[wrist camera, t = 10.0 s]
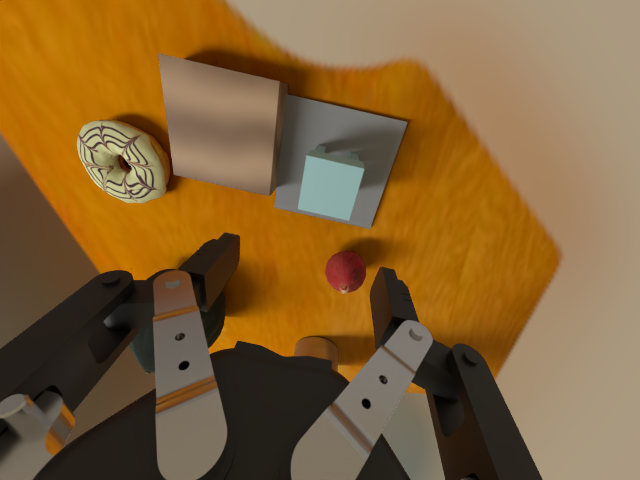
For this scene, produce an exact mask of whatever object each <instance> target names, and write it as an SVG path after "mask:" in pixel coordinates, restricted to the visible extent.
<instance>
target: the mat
mask: <svg viewBox="0 0 640 480" xmlns="http://www.w3.org/2000/svg"><path fill="white" fill-rule="evenodd" d="M407 123H408V122H405V121H401V120H397V119H392V118H388V117H384V116H379V115H375V114H371V113H366V112H362V111H358V110H353V109H349V108H345V107H341V106H336V105H332V104H328V103H323V102H319V101H315V100H310V99H306V98H302V97H297V96H293V95H289V94H286V101H285V110H284V120H283V130H282V140H281V149H280V159H279V169H278V178H277V188H276V198H275V208H279V209H284V210H288V211H293V212H297V213H301V214H306V215H310V216H315V217H319V218H324V219H328V220H333V221H337V222H342V223H346V224H351V225H355V226H360V227H364V228H368V229H370V228H371V225H372V222H373V219H374V216H375V213H376V211H377V208H378V205H379V202H380V199H381V196H382V194H383V191H384V188H385V185H386V182H387V179H388V177H389V174H390V171H391V168H392V165H393V162H394V160H395V157H396V154H397V151H398V148H399V145H400V143H401V140H402V137H403V134H404V131H405V128H406V126H407ZM318 145H321V146H325V147H326V149H325V153H328V154H332V155H337V156H341V157H345V158H349V154H350V152H351V153H355V154H358V157H359V161H362V162H363V165H364V172H363V175H362V179H361V182H360V186H359V189H358V192H357V196H356V199H355V202H354V206H353V209H352V212H351V216H350V219H349V221H348V220H344V219H339V218H335V217H330V216H326V215H322V214H317V213H313V212H309V211H304V210H300V209H298V204H299V198H300V192H301V186H302V180H303V174H304V168H305V162H306V156H307V154H308V153H309V151H310V150H315V149H316V147H317V146H318Z"/></svg>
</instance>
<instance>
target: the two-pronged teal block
mask: <svg viewBox="0 0 640 480" xmlns="http://www.w3.org/2000/svg"><path fill="white" fill-rule="evenodd" d="M325 149H326V147H325V146H321V145H318V146H317V147H316V149H315V150H310V151H309V153H308V154H307V156H306V162H305V168H304V174H303V180H302V186H301V192H300V198H299V204H298V209H300V210H304V211H309V212H313V213H317V214H322V215H326V216H330V217H335V218H339V219H344V220H348V221H349V219H350V216H351V212H352V209H353V206H354V202H355V199H356V196H357V192H358V189H359V186H360V182H361V179H362V175H363V172H364V165H363V162H362V161H359V157H358V154H355V153H351V152H350V154H349V158H345V157H341V156H337V155H332V154H328V153H325Z"/></svg>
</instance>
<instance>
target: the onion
mask: <svg viewBox="0 0 640 480" xmlns="http://www.w3.org/2000/svg"><path fill="white" fill-rule="evenodd" d="M325 273H326V277H327V280H328V282H329V283H330V284H331V286H332V287H333V288H334V289H336V290H338V291H340V292H341V293H344V294H346V293H347V292H352V291H355V290H357V289H358V288H359V287H360V286H361V285H362V284H363V282H364V279H365V277H366V265H365V263H364V261H363V260H362V258H361V257H360V256H359V255H357V254H355V253H354V252H349V251H343V252H338V253H337V254H335V255H333V256H332V257H331V258H330V259H329V260H328V262H327V265H326V269H325Z"/></svg>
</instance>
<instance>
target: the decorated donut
mask: <svg viewBox="0 0 640 480" xmlns="http://www.w3.org/2000/svg"><path fill="white" fill-rule="evenodd" d="M77 148H78V153H79V157H80V159H81V161H82V163H83V165H84V167H85V168H86V170H87V172H88V174H89V175H90V177H91V178H92V179H93V181H94V182H95V183H96V185H97V186H99V187H100V188H101V189H103V190H104V191H105V192H106V193H108V194H110V195H112V196H114V197H116V198H118V199H120V200H122V201H125V202H127V203H135V202H138V203H145V202H147V201H149V200H153V199H157V198H159V197H161V196H163V195H164V194H165V192H166V186H167V184H168V182H169V177H170V161H169V157H168V155H167V153H166V152H165V151H164V150H163V148H162V147H161V146H160V144H159V143H158V142H157V141H156V139H155V138H154V137H153V136H151V135H150V134H147V133H146V132H144V131H142V130H140V129H138V128H136V127H134V126H132V125H130V124H127V123H123V122H120V121H116V120H99V121H92V122H90V123H88V124H85V125H84V126H83V128H81V132H80V133H79V135H78V141H77ZM123 157H124V158H125V160H126V161H127V162H128V164H129V165H130V166H131V167H132V170H131V169H129V168H128V167H126V165H125V164H124V159H123Z"/></svg>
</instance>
